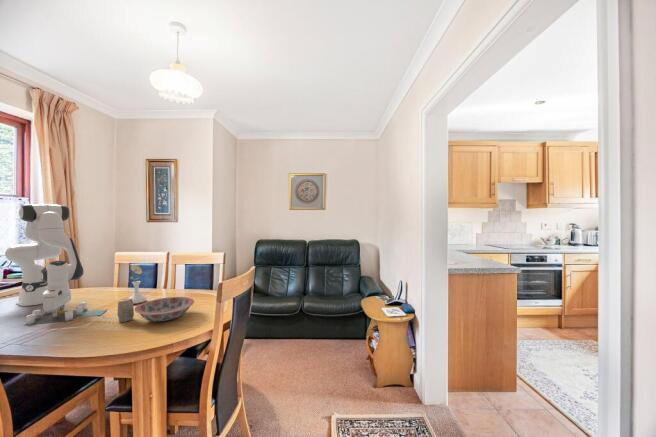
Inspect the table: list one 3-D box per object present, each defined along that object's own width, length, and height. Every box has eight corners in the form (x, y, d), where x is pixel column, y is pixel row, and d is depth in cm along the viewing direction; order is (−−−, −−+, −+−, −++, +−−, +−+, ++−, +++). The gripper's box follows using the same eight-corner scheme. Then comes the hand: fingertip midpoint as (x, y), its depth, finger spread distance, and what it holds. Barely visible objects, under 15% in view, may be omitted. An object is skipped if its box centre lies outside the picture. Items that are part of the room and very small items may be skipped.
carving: (114, 322, 152) (114, 300, 152) (130, 317, 159) (129, 296, 159) (121, 324, 149) (121, 302, 149) (136, 319, 156) (136, 298, 156)
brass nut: (54, 315, 159) (54, 308, 159) (66, 314, 161) (66, 307, 161) (50, 318, 155) (50, 311, 155) (62, 317, 157) (62, 310, 157)
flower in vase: (149, 301, 187) (149, 264, 186) (130, 306, 177) (130, 267, 177) (140, 298, 194) (140, 262, 193) (121, 302, 184) (121, 265, 184)
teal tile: (86, 312, 166) (86, 311, 166) (106, 310, 170) (106, 309, 170) (78, 318, 157) (78, 317, 157) (100, 316, 161) (100, 315, 161)
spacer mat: (43, 313, 163) (43, 305, 163) (90, 309, 171) (90, 301, 171) (20, 326, 145) (20, 317, 144) (74, 321, 152) (74, 312, 152)
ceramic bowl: (121, 324, 150) (121, 309, 149) (169, 307, 177) (169, 294, 177) (161, 332, 140) (161, 316, 139) (205, 313, 167) (205, 300, 167)
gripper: (61, 285, 166) (61, 308, 166) (40, 295, 147) (40, 321, 147) (74, 285, 168) (74, 307, 169) (55, 294, 149) (55, 319, 149)
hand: (58, 314), depth 158 cm, fingers closed on brass nut, 5 cm apart
